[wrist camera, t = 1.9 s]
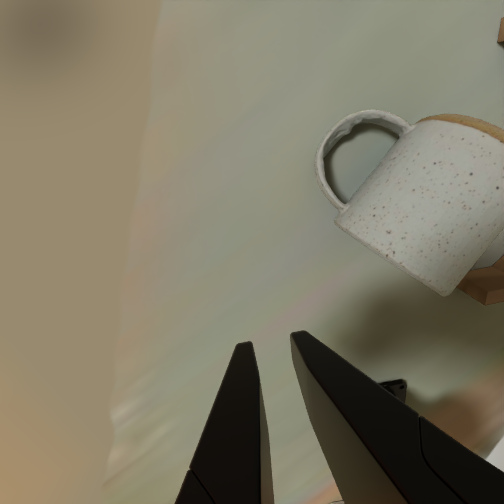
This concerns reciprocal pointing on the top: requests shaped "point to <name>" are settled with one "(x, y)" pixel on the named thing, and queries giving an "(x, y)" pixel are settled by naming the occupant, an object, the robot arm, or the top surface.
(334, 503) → the disposable coffee cup
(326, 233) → the top surface
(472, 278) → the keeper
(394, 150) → the ceramic mug
